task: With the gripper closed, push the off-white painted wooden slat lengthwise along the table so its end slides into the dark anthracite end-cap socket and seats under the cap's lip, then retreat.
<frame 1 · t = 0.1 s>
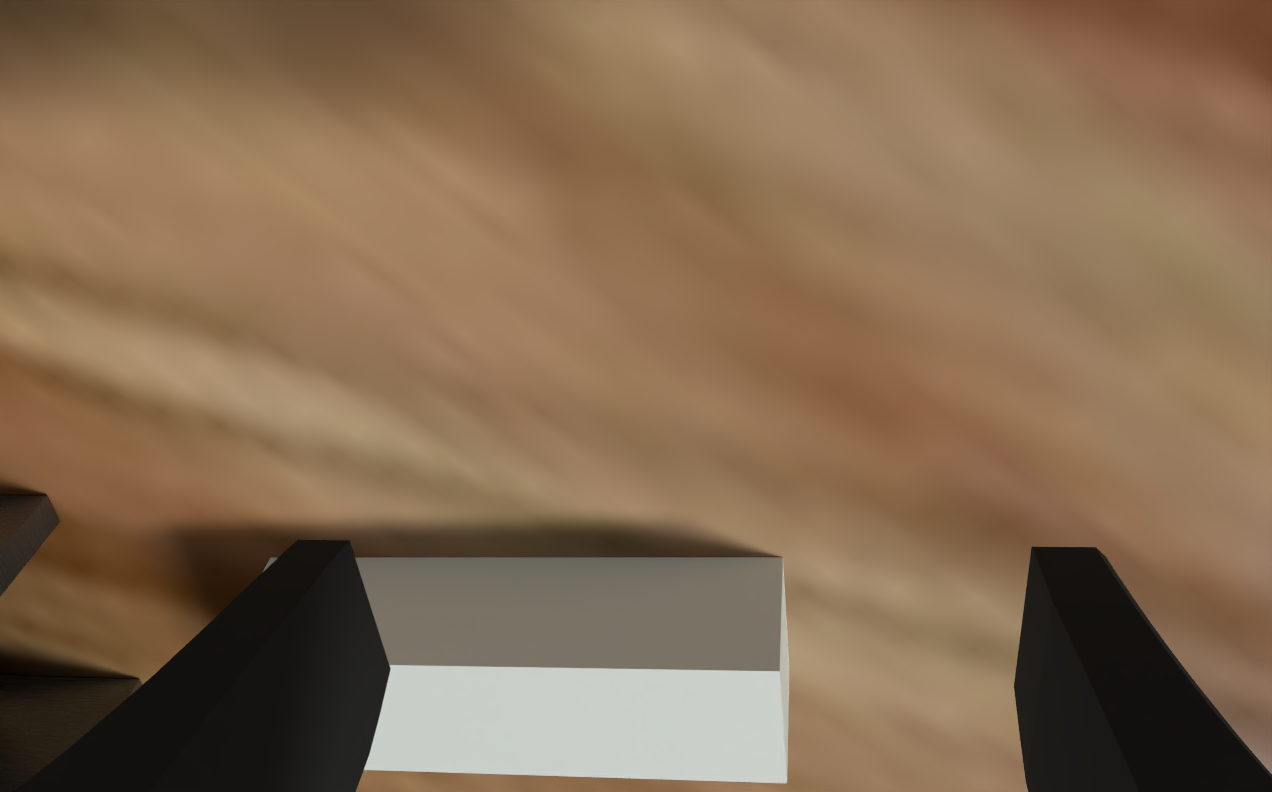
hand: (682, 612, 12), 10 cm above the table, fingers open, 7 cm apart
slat: (532, 604, 27), on the table
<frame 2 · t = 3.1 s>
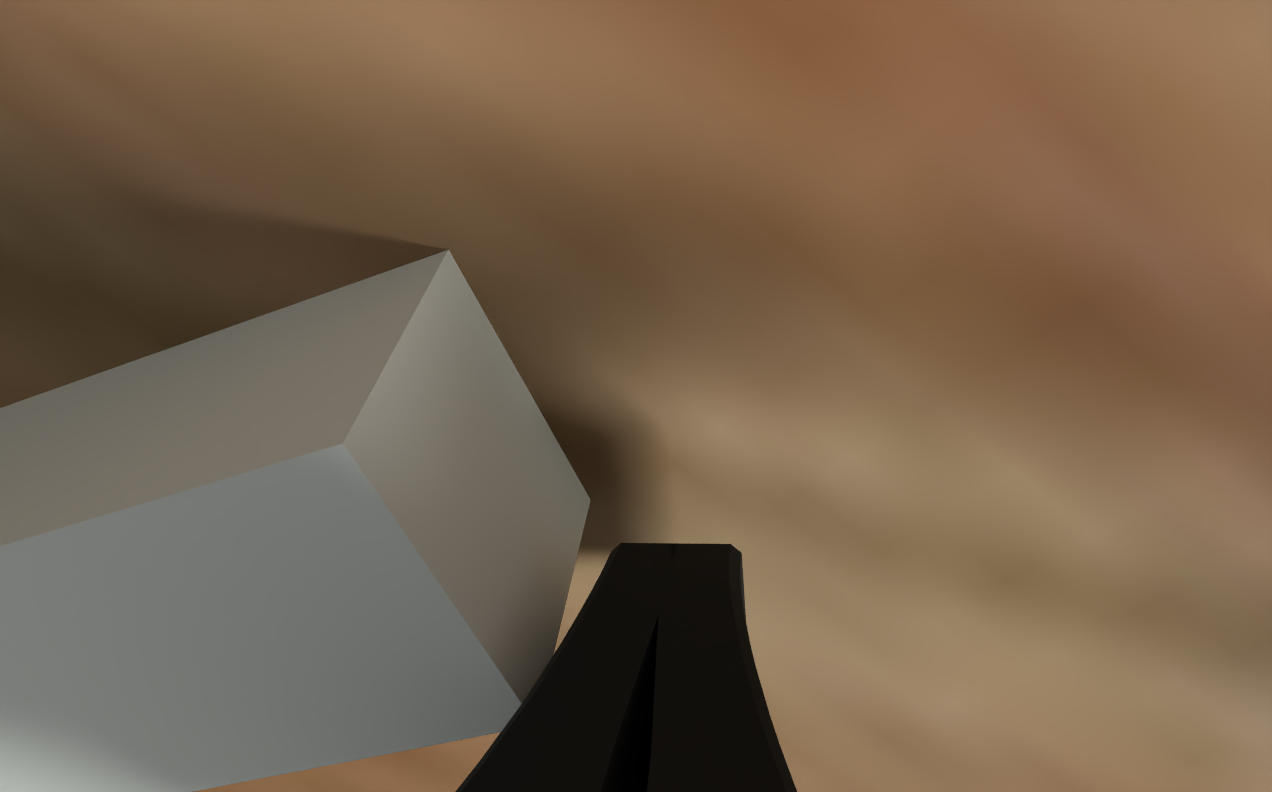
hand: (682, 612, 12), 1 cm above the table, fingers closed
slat: (116, 498, 15), on the table
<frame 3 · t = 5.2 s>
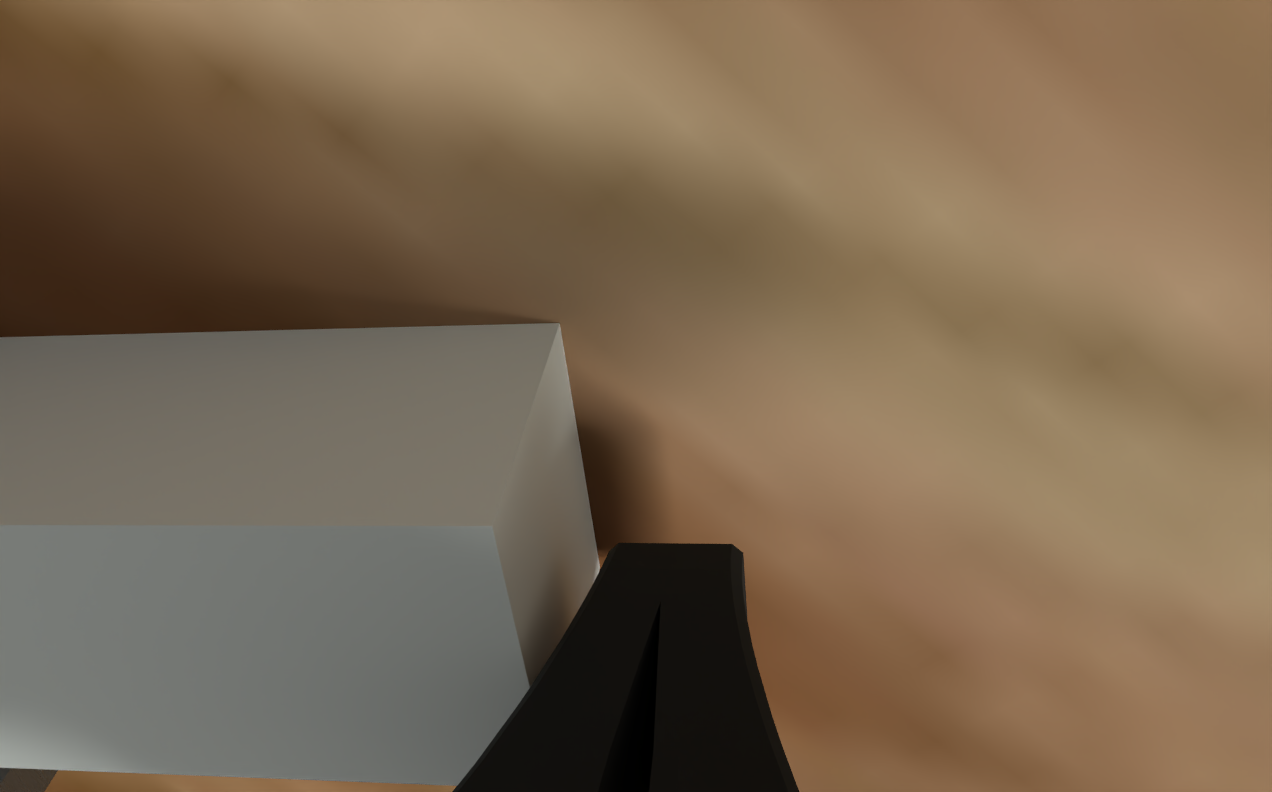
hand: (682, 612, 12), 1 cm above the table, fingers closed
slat: (112, 443, 14), on the table, touching gripper
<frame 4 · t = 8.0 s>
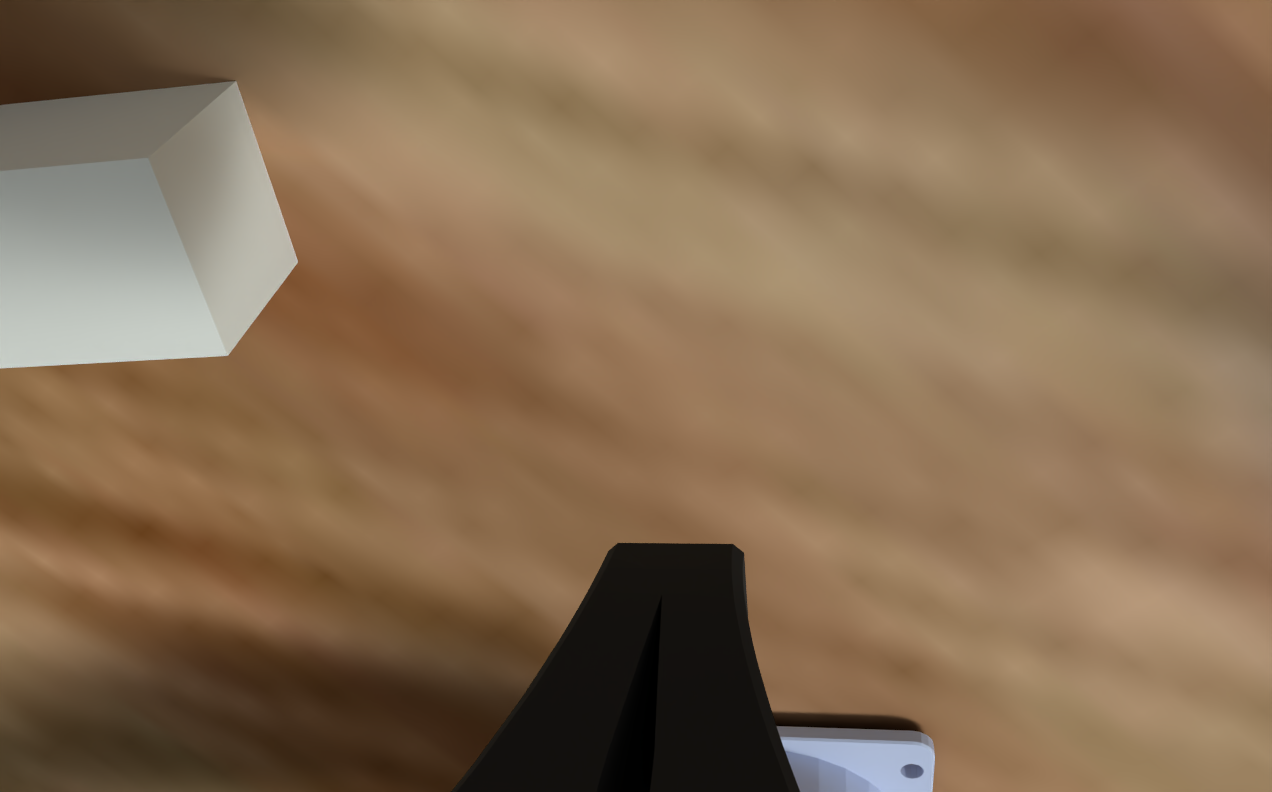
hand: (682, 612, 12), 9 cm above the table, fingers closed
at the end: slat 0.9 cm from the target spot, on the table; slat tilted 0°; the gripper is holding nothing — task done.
